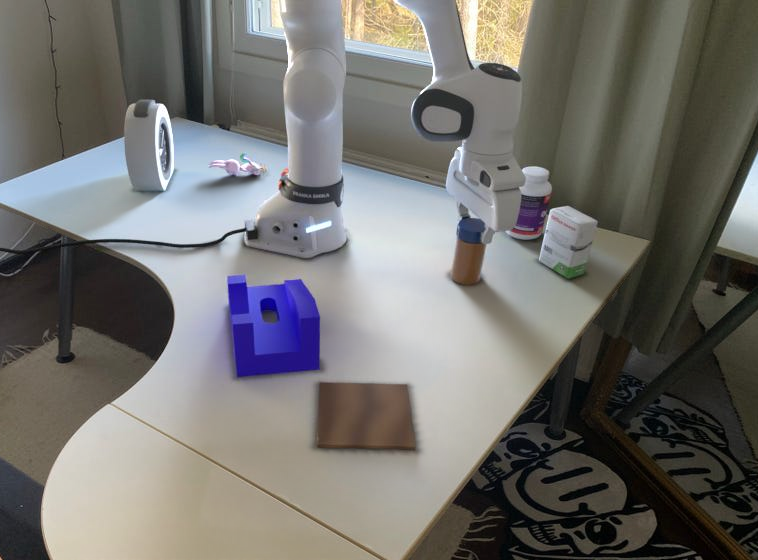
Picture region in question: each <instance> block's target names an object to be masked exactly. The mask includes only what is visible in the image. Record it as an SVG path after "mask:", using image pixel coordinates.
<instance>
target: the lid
mask: <svg viewBox="0 0 758 560" xmlns="http://www.w3.org/2000/svg"><path fill="white" fill-rule="evenodd" d="M484 226H485V223H484V222H483V221H482V220H481V219H479V218H478V217H470V218H465V219H462V220H460V221H459V222H458V221H457V227H456V234H455V235H456V238H457V237H458V238H459V239H461V240H463V241H465V242H470V243H481V241H480V240H479V239H480V233H482V232H484V231H485V229H486V228H485V227H484Z"/></svg>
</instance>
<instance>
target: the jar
mask: <svg viewBox="0 0 758 560" xmlns="http://www.w3.org/2000/svg"><path fill="white" fill-rule="evenodd" d="M486 249H487V244H483V243H482V242H481V243H470V242H465V241H463V240H461V239H459V238H458V237H457V236H456V239H455V244H454V252H453V259H452V264H451V271H450V278H451V280H452V281H453V282H455V283H458V284H461V285H475V284H477V283H479V282H480V281H481V276H482V270H483V265H484V260H485V255H486Z"/></svg>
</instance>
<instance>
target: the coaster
mask: <svg viewBox="0 0 758 560" xmlns="http://www.w3.org/2000/svg"><path fill="white" fill-rule="evenodd" d="M318 387H319V388H318V413H317V414H318V417H317V443H316V445H317V448H334V449H335V448H336V449H338V448H339V449H371V450H372V449H373V450H374V449H375V450H376V449H377V450H409V451H410V450H411V451H414V450H416V442H415V436H414V435H415V434H414V427H413V420H412V412H411V405H410V396H409V389H408V384H406V383H403V384H402V383H367V382H329V381H328V382H325V381H322V382H321V381H319V385H318Z"/></svg>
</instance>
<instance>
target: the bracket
mask: <svg viewBox="0 0 758 560" xmlns="http://www.w3.org/2000/svg"><path fill="white" fill-rule="evenodd" d="M226 282H227V283H226V285H227V297H228V298H227V299H228V308H229V309H228V310H229V317H230V318H229V319H230V327H231V335H232V344H233V354H234V362H235V371H236V378H245V377H255V376H266V375H276V374H287V373H297V372H298V373H299V372H307V371H308V372H309V371H316V370H317V371H319V370H320V367H321V366H320V363H321V361H320V358H321V356H320V355H321V315H320V311H319V308H318V305H317V302H316V301H317V300H316V299H315V297H314V296H313V294H312V293H311V291H310V290H309V288H308V287H307V286H306V284H305V282H304V281H303V280H302V279H301V278H297V279H284V280H283V283H275V284H263V285H251V286H248V282H247V275H246V274H235V275H227V276H226ZM264 312H273V313H275V314H276V319H277V321H275V322H273V323H268V322H265V321H264V320H263V314H262V313H264Z"/></svg>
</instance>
